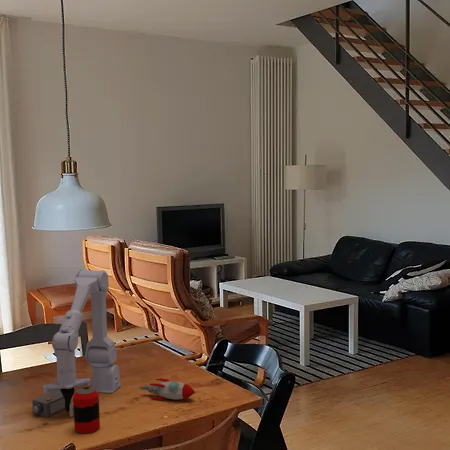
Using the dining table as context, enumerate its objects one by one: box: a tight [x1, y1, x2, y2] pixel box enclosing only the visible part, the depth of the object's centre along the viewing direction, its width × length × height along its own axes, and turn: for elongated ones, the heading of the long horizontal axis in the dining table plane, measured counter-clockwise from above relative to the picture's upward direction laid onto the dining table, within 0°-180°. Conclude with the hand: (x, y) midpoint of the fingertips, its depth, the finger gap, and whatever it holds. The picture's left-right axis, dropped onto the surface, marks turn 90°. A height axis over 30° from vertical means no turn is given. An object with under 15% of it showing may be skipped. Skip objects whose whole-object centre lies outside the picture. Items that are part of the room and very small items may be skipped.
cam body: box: [31, 390, 66, 418], centre depth 203 cm, size 7×12×5 cm, turn 146°
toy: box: [139, 378, 196, 401], centre depth 212 cm, size 21×7×7 cm
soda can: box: [72, 386, 101, 435], centre depth 188 cm, size 8×8×12 cm
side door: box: [69, 398, 74, 417], centre depth 201 cm, size 2×8×4 cm, turn 16°
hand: (68, 410), depth 199 cm, fingers closed, pressing on side door
